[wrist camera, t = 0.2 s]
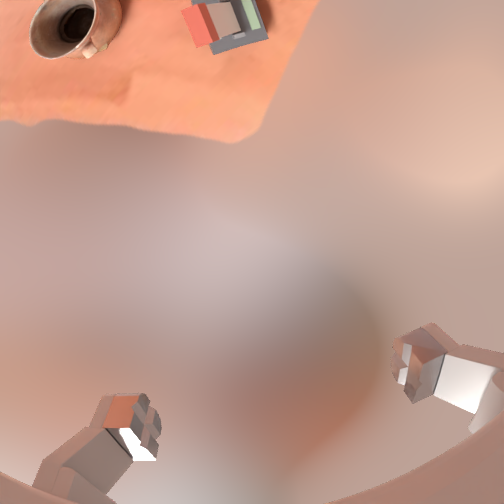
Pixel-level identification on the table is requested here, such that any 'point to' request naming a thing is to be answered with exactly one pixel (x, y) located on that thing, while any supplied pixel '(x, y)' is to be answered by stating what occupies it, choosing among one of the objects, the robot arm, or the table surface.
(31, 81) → the table surface
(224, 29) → the lever
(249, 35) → the switch box
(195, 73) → the table surface
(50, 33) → the ceramic jug
